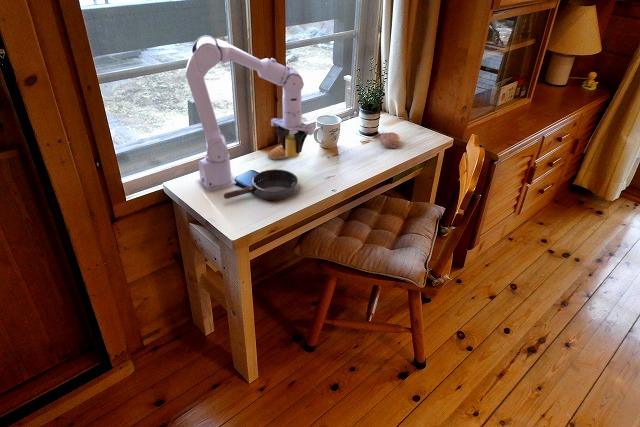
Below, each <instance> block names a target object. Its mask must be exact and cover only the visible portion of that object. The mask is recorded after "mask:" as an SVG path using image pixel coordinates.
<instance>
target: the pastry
mask: <svg viewBox="0 0 640 427" xmlns="http://www.w3.org/2000/svg"><path fill="white" fill-rule="evenodd" d="M267 158H268V159H270V160H272V161H274V160H275V161H276V160H284V159H289V157H287V156H286V150H283V146H282V144H281V145H277V146H275V147H274V148H273V149H271V150H270V151H268V153H267Z"/></svg>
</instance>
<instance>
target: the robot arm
mask: <svg viewBox="0 0 640 427" xmlns="http://www.w3.org/2000/svg"><path fill="white" fill-rule="evenodd" d="M220 62H221V64H222V65H223V64H226V63H229V62H233V63H236V64H238V65H240V66H242V67H245V68H248V69H251V70H253V71H256V72H257V75H258V77H259V78H261V79H263V80H265V81H268V82H270V83H272V84H274V85H276V86H279V87H282V95H281V96H282V118H276V117H274V118H271V119H270V126H271V127H277V128H276V129H275V134H276V135H277V136H278V138H279V141H280V143H281V145H282V146H283V150H286V149H285V137H286V136H288V135H290V131H295V133H294V137H295V141H296V153H298V154H299V155H300V154H301V152H302V150H303V146H304V143H305V141H306V138H307V137H308V135H309V136H312V135H314V134H315V127H314V126H311V125H308V124H307V123H304V122H302V90H303V88H304V86H305V82H304V80H303V78H302V76H301V75H300V73H299V72H298V71H297V70H296V69H295V68H294V67H292V66H289V65H286V66H285V65H283V64H281V63H278V62H277V60H276V58H273V57H271V58H268V57H266V58H263V59H260V58H258V57H256V56H254V55H252V54H250V53H248V52H246V51H244V50H243V49H240V48H238V47H236V46H234V45H232V44H230V43H228V42H226V41H224V40H222V39H218V38H216V39H215V38H214V37H213V36H211V35H207V34H206V35H202V36H201V35H200V37H198V38H197V40H195V42H194V43H193V45H192V46H191V50H190V54H189V57H188V60H187V64H186V67H185V77H186V81H187V83H188V86H189V90H190V93H191V96H192V100H193V102H194V105H195V108H196V111H197V114H198V118H199V121H200V123H201V126H202V130H203V133H204V137H205V139H204V140H205V146H206V154H205V157H204V158H202V159H200V160H199V161H198V171H199V181H200V183H201V184H202V185H203V187H205V189H206V190H207V191H212V190H217V189H221V188H225V187H229V186H233V185H237V182H236V180H235V179H234V178H233V176H232V168H231V158H230V155H231V154H230V152H229V149H228V145H227V138H226V136H225V135H224V134H223V133H222V131H221V129H220V126H219V123H218V120H217V116H216V114H215V111H214V107H213V104H212V100H211V97H210V93H209V89H208V86H207V84H206V81H205V76H207V74H208V72H209V71H210V70H212V69H213V68H214V67H216V66H217V65H218V64H219V63H220Z"/></svg>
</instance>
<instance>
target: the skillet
mask: <svg viewBox="0 0 640 427" xmlns="http://www.w3.org/2000/svg"><path fill="white" fill-rule="evenodd" d="M265 178H266V179H265ZM262 179H263V180H262ZM260 180H261V181H260ZM258 181H259V182H258ZM255 183H256V184H255ZM251 186H255V188H256V191H254V192H252V193H253V194H254V195H255V196H256V197H257V198H260V199H262V200H265V201H275V202H277V201H283V200H288V199H290V198H291V197H294V196H295V195H296V194H297V193H298V189H299V179H298V176H297V175H296V174H295V173H293V172H291V171H289V170H284V169H277V168H276V169H275V168H274V169H266V170H263V171H260V172H258V173H256V174H255V175H253V177H252V180H251Z"/></svg>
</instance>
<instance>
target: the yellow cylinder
mask: <svg viewBox="0 0 640 427" xmlns="http://www.w3.org/2000/svg"><path fill="white" fill-rule="evenodd" d="M294 134H295V133H294ZM294 134H293V133H289V135H288V136H286V137H285V149H286V156H287V157H288V158H290V159H296V158H298V157H299V156H300V153H299V154H298V153H296V141H295V137H294Z"/></svg>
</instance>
